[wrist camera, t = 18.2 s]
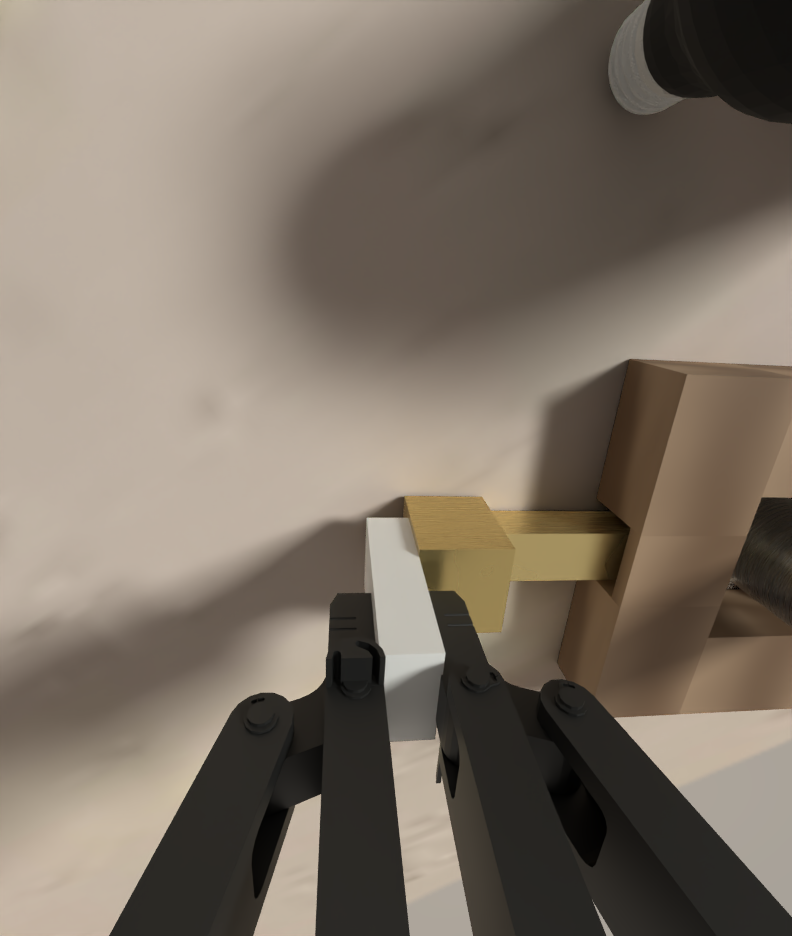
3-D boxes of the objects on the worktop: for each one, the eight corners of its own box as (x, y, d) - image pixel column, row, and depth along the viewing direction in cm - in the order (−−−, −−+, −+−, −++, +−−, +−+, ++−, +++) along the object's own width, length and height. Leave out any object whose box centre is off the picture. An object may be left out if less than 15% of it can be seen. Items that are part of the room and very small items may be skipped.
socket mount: (557, 662, 22) (588, 718, 19) (629, 359, 16) (687, 374, 14) (822, 653, 23) (886, 703, 20) (962, 374, 18) (1073, 390, 15)
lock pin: (399, 568, 19) (412, 634, 15) (404, 496, 17) (419, 549, 14) (674, 565, 20) (744, 625, 16) (696, 498, 19) (776, 547, 15)
